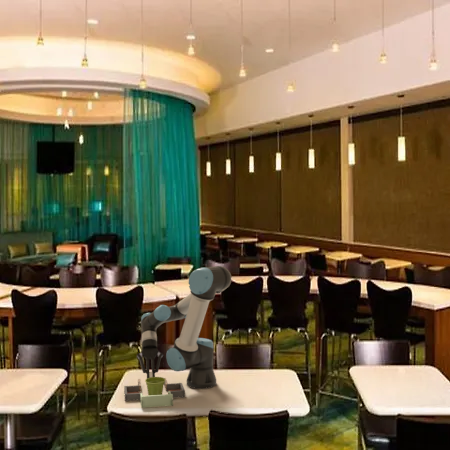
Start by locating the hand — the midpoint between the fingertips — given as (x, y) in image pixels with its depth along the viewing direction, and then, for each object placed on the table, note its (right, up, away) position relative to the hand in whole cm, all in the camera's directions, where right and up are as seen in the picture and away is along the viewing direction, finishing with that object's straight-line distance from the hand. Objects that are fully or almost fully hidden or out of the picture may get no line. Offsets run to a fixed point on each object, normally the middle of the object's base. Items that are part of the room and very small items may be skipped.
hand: (151, 385), depth 267 cm
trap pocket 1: (-8, -5, -2) cm, 10 cm away
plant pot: (+2, -5, -4) cm, 7 cm away
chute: (-1, -4, +10) cm, 11 cm away
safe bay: (+3, -5, -9) cm, 11 cm away
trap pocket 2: (+11, -5, +3) cm, 12 cm away
